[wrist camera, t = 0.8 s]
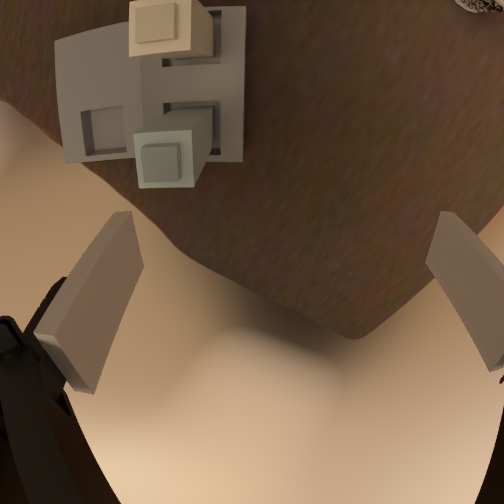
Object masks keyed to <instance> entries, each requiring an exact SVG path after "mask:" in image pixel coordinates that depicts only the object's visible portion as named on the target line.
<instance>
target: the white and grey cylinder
mask: <svg viewBox="0 0 504 504" xmlns="http://www.w3.org/2000/svg"><path fill="white" fill-rule="evenodd" d="M454 1H455V2H456V3H457V4H458V5H460V6H461V7H463V8H464V9H465V10H467V11H471V12H474V13H477V12H481V11H484V12H485V13H486V12H488V10H487V9H489V10H490V11H491V12H494V11H497V10H498V11H499V12H503V11H504V0H454Z"/></svg>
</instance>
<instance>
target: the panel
mask: <svg viewBox="0 0 504 504" xmlns="http://www.w3.org/2000/svg"><path fill="white" fill-rule="evenodd" d="M204 8H205V9H206V10H207V11H208V13H209V14H210V15H211V16H212V17H213V19H214V20H215V21H216V37H215V57H204V58H187V59H165V58H144V57H129V21H128V22H123V23H118V24H113V25H109V26H105V27H101V28H97V29H93V30H89V31H85V32H82V33H78V34H75V35H72V36H68V37H65V38H62V39H59V40H56V41H55V72H56V88H57V100H58V111H59V119H60V128H61V135H62V142H63V148H64V154H65V160H66V164H71V163H80V162H89V161H100V160H111V159H124V158H135V148H134V138H133V133H135V132H136V131H138V130H140V129H141V128H143V127H144V126H146V125H148V124H149V123H151V122H152V121H154V120H156V119H157V118H159V117H161V116H162V115H164V114H166V113H168V112H169V111H171V110H173V109H175V108H176V107H188V106H215V143H214V145H213V148H212V150H211V152H210V154H209V156H208V158H207V160H206V162H243V154H244V124H245V77H246V37H247V10H246V6H219V7H204Z"/></svg>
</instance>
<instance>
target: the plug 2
mask: <svg viewBox="0 0 504 504" xmlns="http://www.w3.org/2000/svg"><path fill="white" fill-rule="evenodd" d="M133 138H134V148H135V158H136V167H137V175H138V183H139V188H173V187H195V184H196V182H197V180H198V178H199V175H200V173H201V171H202V169H203V167H204V165H205V162H206V160H207V158H208V156H209V154H210V152H211V150H212V148H213V145H214V143H215V106H188V107H176V108H175V109H173V110H171V111H169V112H168V113H166V114H164V115H162V116H161V117H159V118H157V119H156V120H154V121H152V122H151V123H149V124H148V125H146V126H144V127H143V128H141V129H140V130H138V131H136V132H135V133H133Z"/></svg>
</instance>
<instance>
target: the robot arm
mask: <svg viewBox="0 0 504 504" xmlns="http://www.w3.org/2000/svg"><path fill="white" fill-rule="evenodd" d="M425 263H426V264H427V266H428V267H429V269H430V270H431V272H432V273H433V275H434V276H435V278H436V279H437V281H438V282H439V284H440V286H441V287H442V289H443V290H444V292H445V293H446V295H447V296H448V298H449V300H450V301H451V303H452V305H453V306H454V308H455V309H456V311H457V313H458V315H459V316H460V318H461V320H462V322H463V323H464V325H465V327H466V328H467V330H468V332H469V334H470V336H471V338H472V339H473V341H474V343H475V345H476V347H477V348H478V350H479V352H480V354H481V356H482V358H483V360H484V362H485V364H486V366H487V368H488V370H489V372H492V371H495V370H498V369H501V368H503V367H504V265H503V264H502V263H501V262H500V261H499V259H498V258H497V257H496V256H495V255H494V254H493V253H492V252H491V250H490V249H489V248H488V247H487V246H486V245H485V244H484V243H483V242H482V241H481V240H480V239H479V237H478V236H477V235H476V234H475V233H474V232H473V231H472V230H471V229H470V228H469V227H468V226H467V225H466V224H465V223H464V222H463V221H462V220H461V219H460V218H459V217H458V216H457V215H456V214H455V213H454V212H444V211H441V212H440V215H439V219H438V223H437V226H436V230H435V233H434V236H433V240H432V243H431V246H430V249H429V252H428V255H427V258H426V261H425ZM143 268H144V264H143V260H142V256H141V252H140V248H139V244H138V240H137V235H136V231H135V226H134V222H133V217H132V212H131V211H126V212H115V213H114V214H113V215H112V216H111V218H110V219H109V220H108V221H107V223H106V224H105V225H104V227H103V228H102V229H101V231H100V232H99V233H98V235H97V236H96V237H95V239H94V240H93V241H92V243H91V244H90V245H89V247H88V248H87V250H86V251H85V252H84V254H83V255H82V257H81V258H80V259H79V261H78V262H77V264H76V266H75V267H74V268H73V270H72V271H71V272H70V274H69V275H68V277H62V278H61V279H60V280H59V281H58V282H56V283H55V284H54V285H53V286H52V287H51V289H50V290H49V292H48V293H47V295H46V298H45V299H43V301H42V303H41V304H40V307H38V309H37V311H36V312H35V314H34V316H33V317H32V319H31V320H30V322H29V324H28V325H27V327H26V329H25V330H24V332H23V333H22V331H21V330H20V328H19V327H18V325H17V323H16V322H15V320H14V319H13V318H12V317H10V316H1V317H0V504H121V503H120V501H119V500H118V498H117V497H116V495H115V493H114V492H113V490H112V488H111V486H110V485H109V483H108V481H107V480H106V478H105V476H104V474H103V472H102V470H101V469H100V467H99V465H98V463H97V461H96V459H95V457H94V455H93V453H92V451H91V449H90V447H89V445H88V443H87V441H86V439H85V436H84V434H83V432H82V430H81V428H80V426H79V423H78V421H77V418H76V416H75V414H74V411H73V409H72V406H71V404H70V401H69V398H68V396H67V394H66V392H65V391H64V389H63V388H64V385H65V383H66V380H67V382H68V383H69V384H70V385H71V387H72V388H73V389H74V391H79V392H84V393H89V394H94V393H95V390H96V387H97V384H98V381H99V378H100V375H101V373H102V370H103V367H104V364H105V361H106V359H107V356H108V353H109V350H110V348H111V345H112V342H113V340H114V337H115V335H116V332H117V330H118V327H119V324H120V322H121V319H122V317H123V314H124V312H125V310H126V307H127V305H128V302H129V300H130V298H131V295H132V293H133V291H134V288H135V286H136V283H137V281H138V279H139V277H140V275H141V272H142V270H143ZM503 381H504V375H503V377H502V378H501V380H500V382H499V383H500V384H501V383H502V382H503ZM475 504H504V408H503V413H502V417H501V422H500V426H499V431H498V435H497V439H496V442H495V446H494V450H493V453H492V457H491V460H490V463H489V466H488V469H487V472H486V475H485V478H484V481H483V484H482V486H481V489H480V492H479V494H478V497H477V499H476V502H475Z"/></svg>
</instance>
